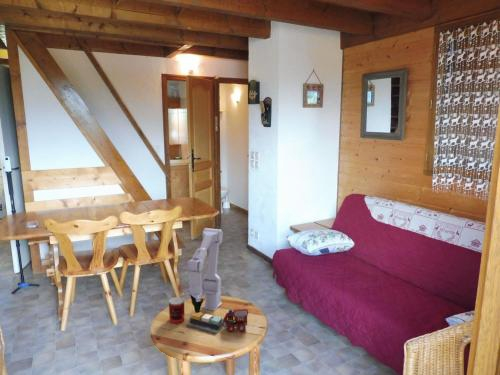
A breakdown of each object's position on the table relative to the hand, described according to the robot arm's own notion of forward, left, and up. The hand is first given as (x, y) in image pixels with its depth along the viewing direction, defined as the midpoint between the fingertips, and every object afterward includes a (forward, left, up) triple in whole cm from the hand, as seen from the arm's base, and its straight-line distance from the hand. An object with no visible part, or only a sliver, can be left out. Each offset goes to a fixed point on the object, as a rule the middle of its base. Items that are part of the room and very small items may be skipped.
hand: (196, 308), depth 189 cm
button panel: (-4, +4, -10) cm, 11 cm away
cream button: (-4, +4, -7) cm, 9 cm away
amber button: (-4, -1, -7) cm, 8 cm away
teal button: (-4, +9, -7) cm, 13 cm away
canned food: (-1, -12, -10) cm, 15 cm away
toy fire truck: (-6, +19, -10) cm, 22 cm away
